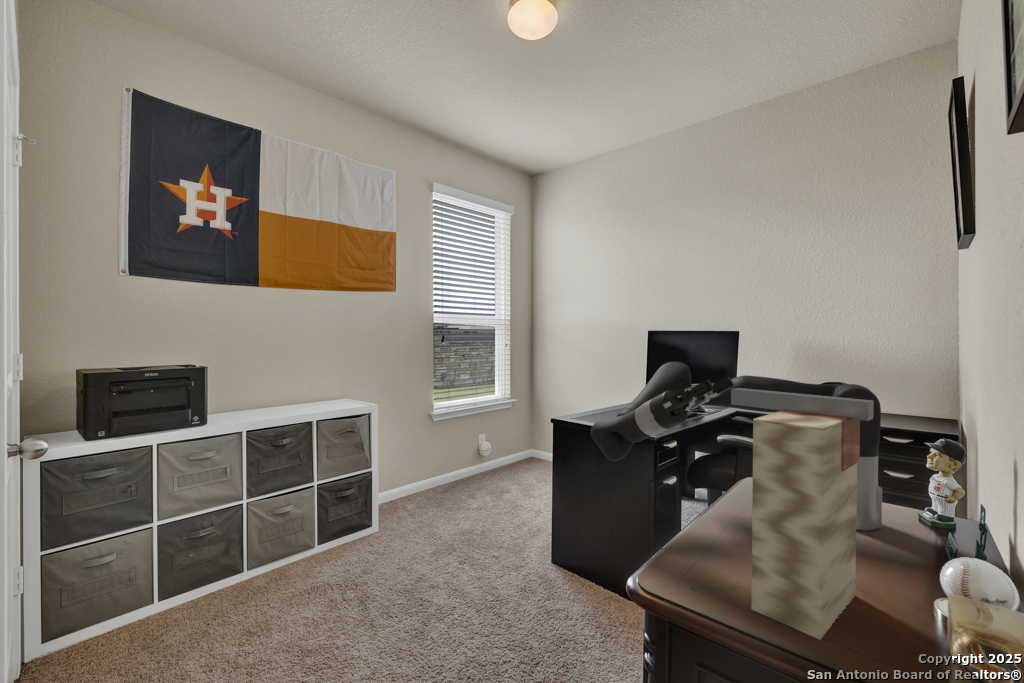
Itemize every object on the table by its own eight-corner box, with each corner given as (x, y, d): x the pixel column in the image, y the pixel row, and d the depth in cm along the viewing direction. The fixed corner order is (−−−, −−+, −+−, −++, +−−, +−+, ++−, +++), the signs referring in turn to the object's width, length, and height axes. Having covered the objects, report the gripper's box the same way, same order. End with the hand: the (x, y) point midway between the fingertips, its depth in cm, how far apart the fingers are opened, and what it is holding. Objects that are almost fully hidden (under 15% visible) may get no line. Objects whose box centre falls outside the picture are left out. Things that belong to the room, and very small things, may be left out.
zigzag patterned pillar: (751, 609, 77) (753, 418, 76) (792, 572, 89) (794, 406, 88) (822, 641, 69) (825, 428, 68) (857, 596, 81) (860, 414, 80)
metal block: (731, 404, 91) (731, 389, 91) (737, 402, 93) (738, 387, 93) (868, 420, 74) (868, 402, 74) (873, 418, 76) (873, 400, 76)
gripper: (685, 424, 107) (746, 396, 96) (649, 434, 98) (713, 403, 87) (670, 395, 110) (728, 364, 99) (634, 402, 101) (694, 368, 90)
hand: (721, 382), depth 93 cm, fingers open, 8 cm apart
